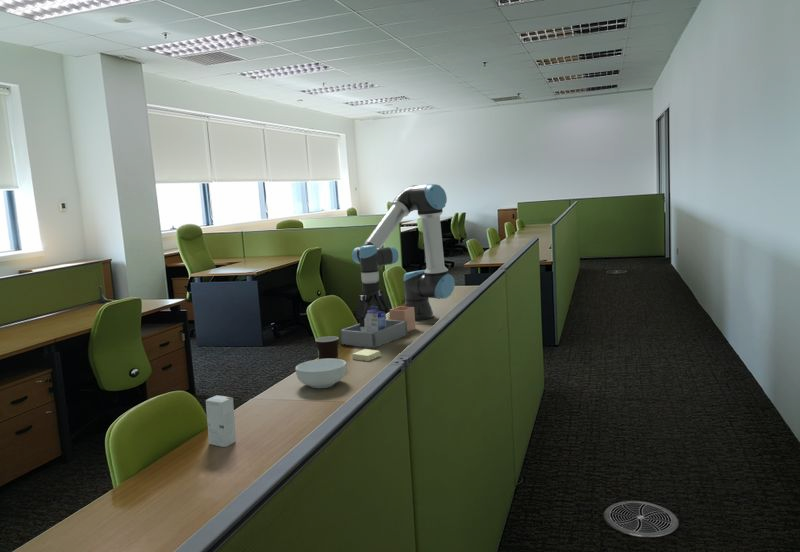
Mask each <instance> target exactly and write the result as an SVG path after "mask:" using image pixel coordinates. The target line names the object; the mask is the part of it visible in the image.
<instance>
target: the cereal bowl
mask: <svg viewBox="0 0 800 552" xmlns="http://www.w3.org/2000/svg"><path fill="white" fill-rule="evenodd" d="M347 368H348V367H347V362H346V360H344V359H340V358H338V359H333V358H327V359H319V358H317V359H313V360H308V361H304V362H301V363H299V364H297V365H296V366H295V373H296V374H295V375H296V377H297V379H298V380H299V382H300V383H301V384H303V385H306V386H310V387H311V388H313V389H326V388H327V389H328V388H331V387H333V386H334V385H335V384H336V383H338V382H340V381H342V380H343V378H345V376H346V374H347Z"/></svg>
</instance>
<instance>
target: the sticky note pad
mask: <svg viewBox="0 0 800 552" xmlns="http://www.w3.org/2000/svg"><path fill="white" fill-rule="evenodd" d="M351 355H352V356H351V357H352V359H353V360H357V361H363V360H365V362H369V360H370V361H372V360H375V359H377V358H379V357H381V350H378V349H377V350H375V349H369V348H363V349H361V350H358V351H356V352H353V353H352V354H351ZM378 356H379V357H378ZM376 357H377V358H376ZM374 358H375V359H374ZM371 359H372V360H371Z"/></svg>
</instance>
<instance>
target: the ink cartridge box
mask: <svg viewBox="0 0 800 552" xmlns="http://www.w3.org/2000/svg"><path fill="white" fill-rule="evenodd" d="M365 319H366V324H367V332H370V333H374V332H377V331H379V330H382V329H385V328H386V322H385V311H380V310H378V306H376V305H370V307H369V310H368V311H367V314H366V316H365Z"/></svg>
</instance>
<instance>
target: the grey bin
mask: <svg viewBox="0 0 800 552" xmlns="http://www.w3.org/2000/svg"><path fill="white" fill-rule="evenodd" d="M405 336H408V332H407V321H396V320H390V319H386V328H385V329H382V330H379V331H377V332H374V333H370V332H361V327H360V323H357V324H354V325H352V326H349V327H345V328H342V329H340V330H339V341H340V345H344V344H345V345H344V346H346V345H347V346H353V347H354V346H355V347H362V346H364V348H371V347H373V349H376V348H378V347H380V345H381V346H383V345H385V343H386V344H388V343H390V341H391V342H392V340H393V341H395V339H396V340H398V339H401V338H402V337H405ZM387 342H388V343H387ZM382 344H383V345H382ZM377 346H378V347H377ZM375 347H376V348H375Z"/></svg>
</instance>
